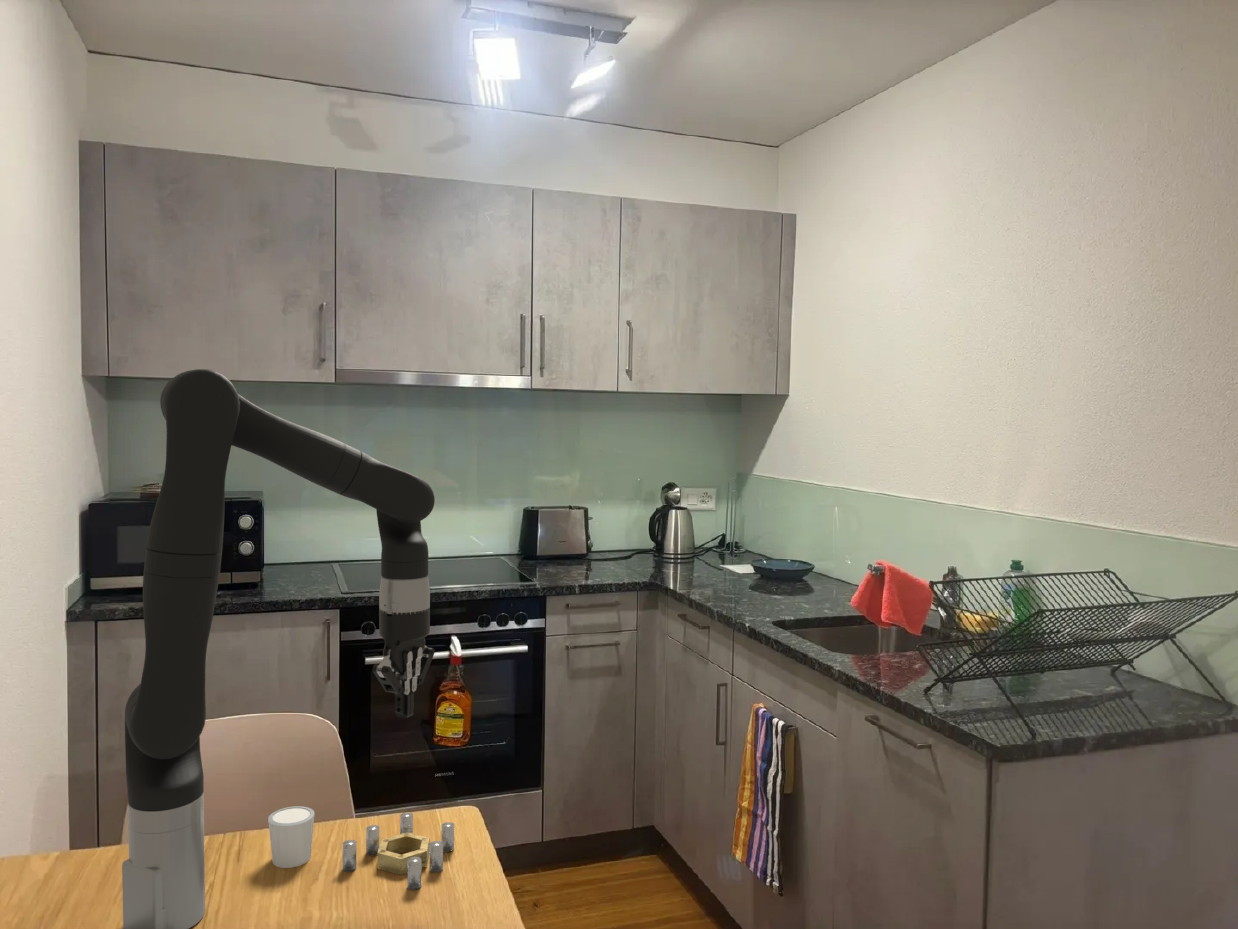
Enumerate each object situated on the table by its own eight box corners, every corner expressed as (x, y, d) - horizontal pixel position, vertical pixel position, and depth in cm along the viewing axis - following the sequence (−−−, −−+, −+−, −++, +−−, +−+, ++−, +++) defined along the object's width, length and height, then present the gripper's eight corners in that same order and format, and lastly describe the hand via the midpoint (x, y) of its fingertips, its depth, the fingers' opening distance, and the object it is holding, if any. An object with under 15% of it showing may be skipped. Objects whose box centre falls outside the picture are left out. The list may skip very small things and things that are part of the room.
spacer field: (415, 891, 133) (416, 864, 133) (339, 870, 139) (339, 844, 139) (467, 850, 146) (467, 826, 145) (395, 832, 151) (395, 809, 151)
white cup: (299, 872, 138) (299, 827, 138) (258, 867, 139) (258, 822, 139) (323, 851, 145) (323, 808, 144) (284, 846, 146) (283, 803, 146)
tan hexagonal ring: (412, 878, 137) (412, 862, 137) (366, 865, 140) (366, 850, 140) (440, 856, 144) (440, 840, 144) (396, 844, 147) (396, 829, 147)
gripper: (410, 594, 147) (410, 700, 148) (356, 611, 135) (356, 726, 136) (450, 599, 144) (449, 707, 145) (398, 616, 132) (397, 734, 133)
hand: (404, 716), depth 141 cm, fingers closed
